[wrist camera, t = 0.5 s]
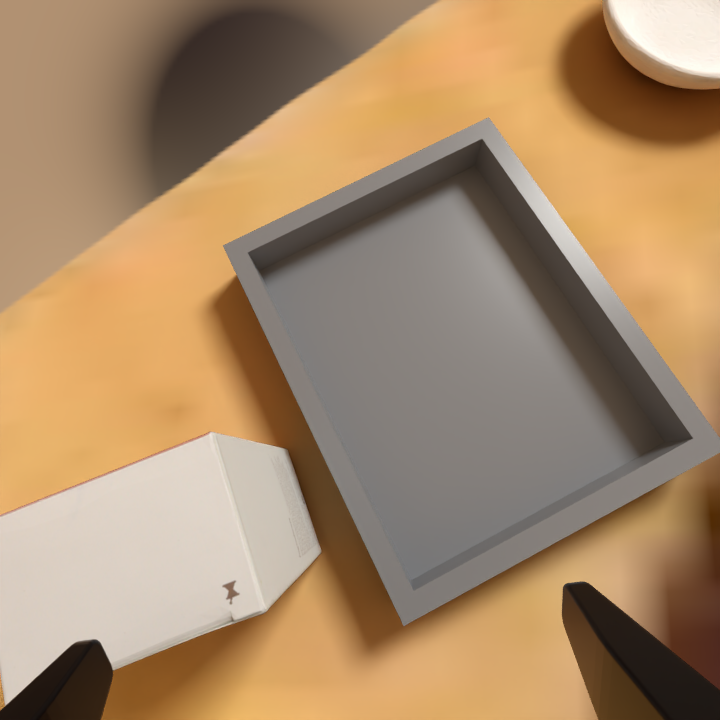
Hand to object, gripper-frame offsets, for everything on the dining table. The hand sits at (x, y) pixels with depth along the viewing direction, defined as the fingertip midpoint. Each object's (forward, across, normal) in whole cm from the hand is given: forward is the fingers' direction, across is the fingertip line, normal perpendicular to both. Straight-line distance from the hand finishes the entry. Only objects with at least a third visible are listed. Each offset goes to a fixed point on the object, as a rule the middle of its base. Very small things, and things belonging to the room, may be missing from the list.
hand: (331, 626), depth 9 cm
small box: (+13, +7, +8) cm, 17 cm away
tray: (+17, -5, +2) cm, 18 cm away
